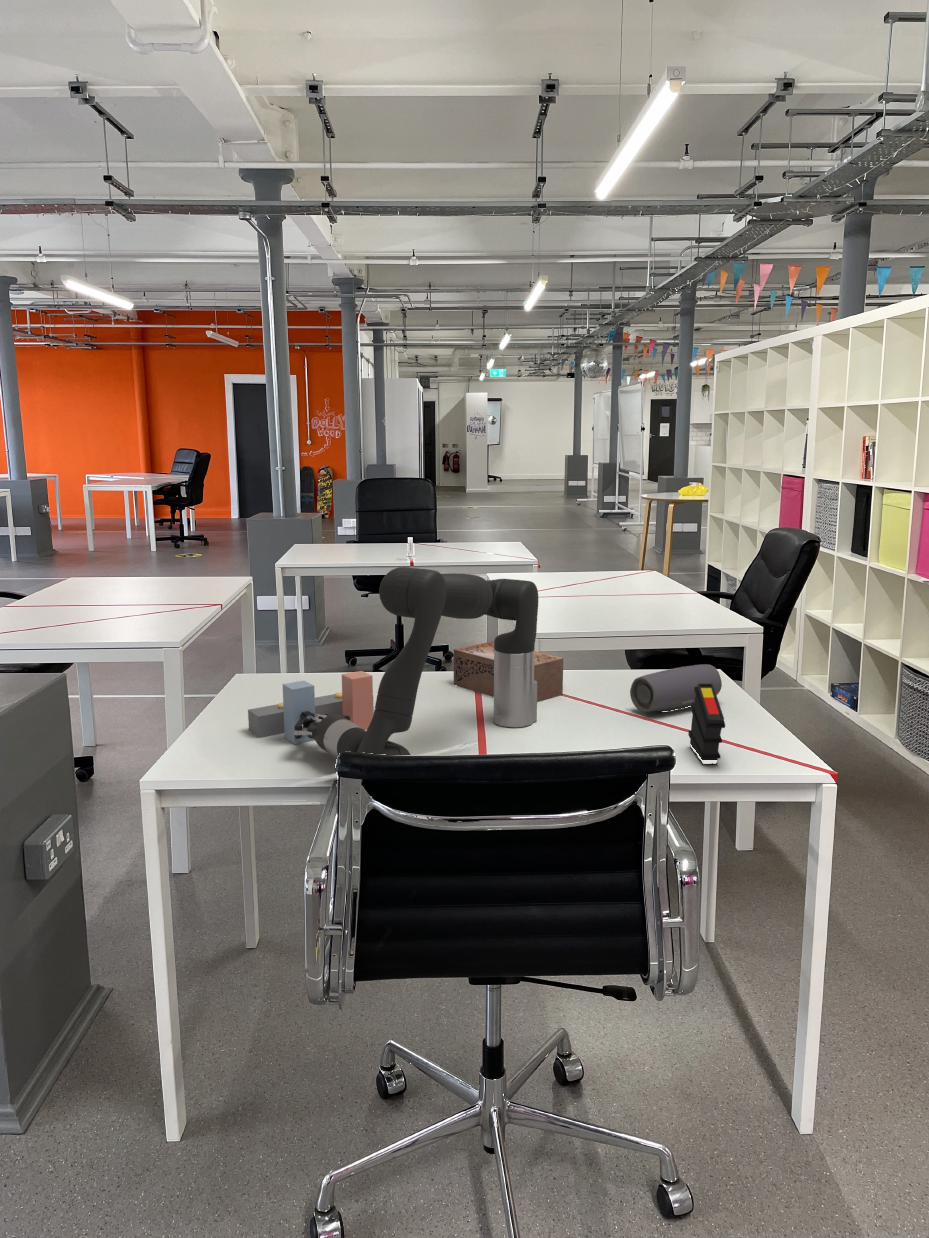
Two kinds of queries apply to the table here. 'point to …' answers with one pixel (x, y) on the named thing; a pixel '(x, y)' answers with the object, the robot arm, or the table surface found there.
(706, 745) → the black stepped tower
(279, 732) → the console
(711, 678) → the bluetooth speaker
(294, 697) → the blue key
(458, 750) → the table surface
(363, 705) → the red key
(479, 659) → the tissue box cover
